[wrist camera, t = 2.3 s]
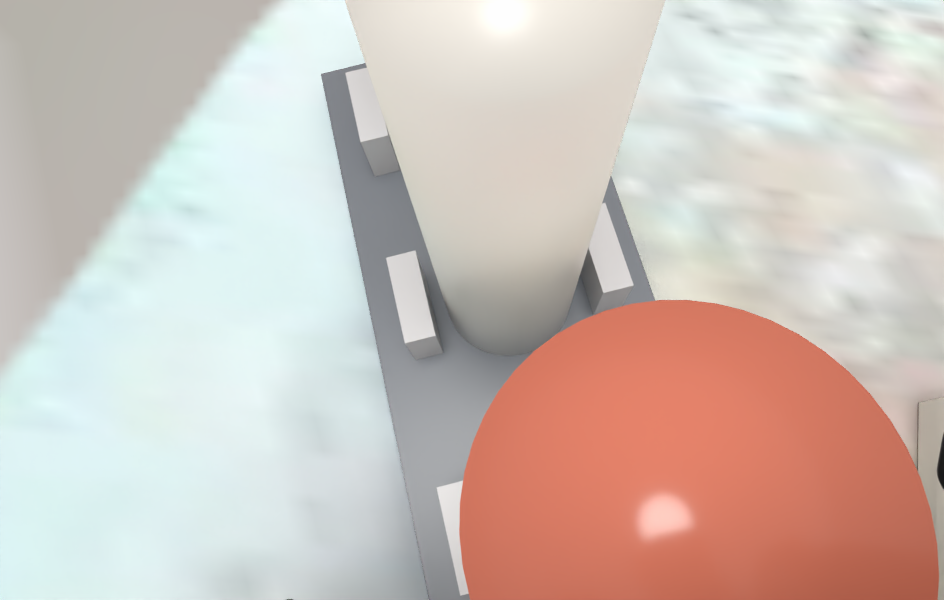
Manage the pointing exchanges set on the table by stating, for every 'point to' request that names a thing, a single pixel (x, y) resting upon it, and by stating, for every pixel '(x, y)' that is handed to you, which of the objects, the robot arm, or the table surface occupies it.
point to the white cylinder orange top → (691, 470)
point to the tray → (933, 471)
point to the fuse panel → (482, 209)
